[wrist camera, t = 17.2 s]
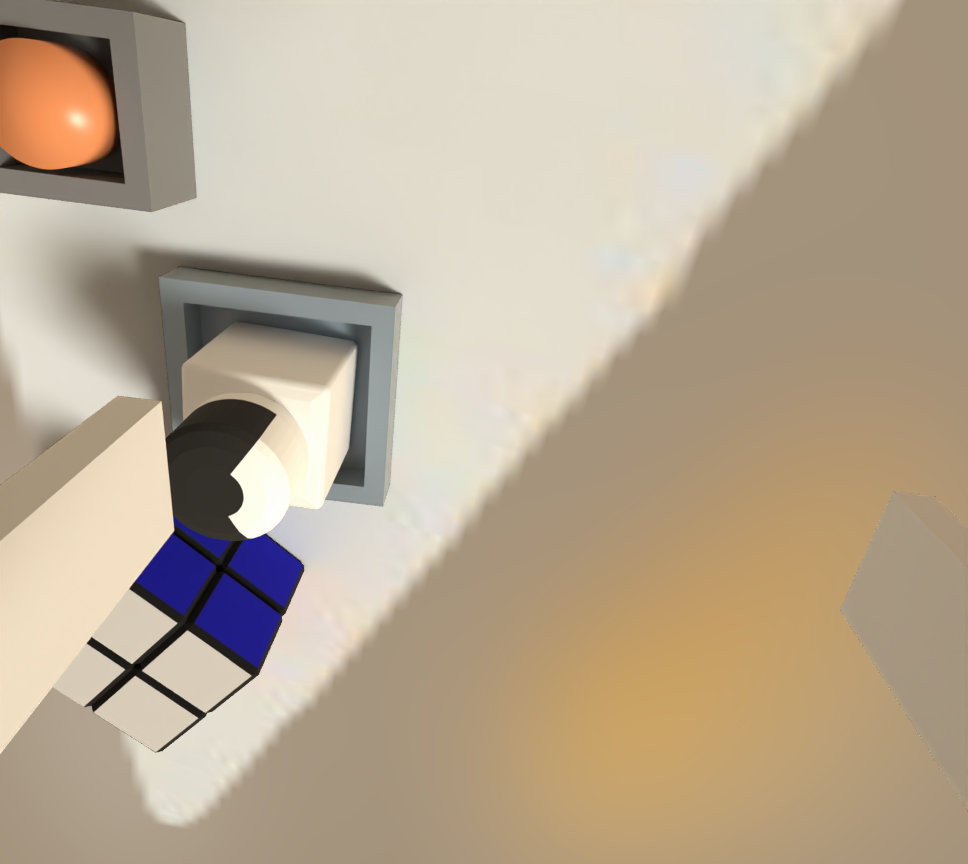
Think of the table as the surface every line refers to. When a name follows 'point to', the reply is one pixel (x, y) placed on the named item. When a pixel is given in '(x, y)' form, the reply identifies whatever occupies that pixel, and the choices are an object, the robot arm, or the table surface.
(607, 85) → the table surface
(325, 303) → the tray
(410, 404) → the table surface
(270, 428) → the medicine bottle
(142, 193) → the button housing
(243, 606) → the puzzle cube
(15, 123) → the button
